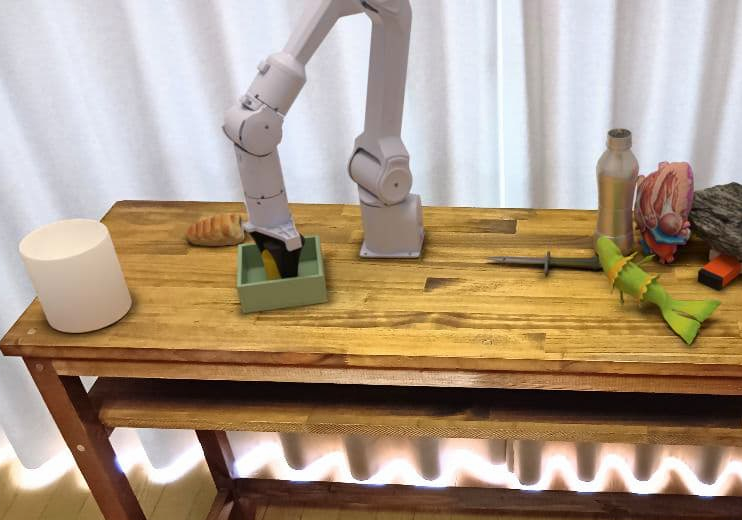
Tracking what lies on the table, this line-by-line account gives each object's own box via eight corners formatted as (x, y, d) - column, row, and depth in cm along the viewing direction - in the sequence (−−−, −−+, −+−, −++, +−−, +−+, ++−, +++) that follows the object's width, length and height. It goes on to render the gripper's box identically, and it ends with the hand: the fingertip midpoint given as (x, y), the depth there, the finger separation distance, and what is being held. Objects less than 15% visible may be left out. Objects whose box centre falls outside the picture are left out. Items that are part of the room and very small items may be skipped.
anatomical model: (646, 165, 142) (632, 261, 144) (627, 158, 138) (613, 257, 139) (708, 167, 135) (692, 267, 137) (690, 160, 131) (674, 263, 133)
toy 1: (582, 244, 128) (574, 290, 133) (700, 305, 119) (687, 351, 124) (615, 226, 133) (606, 270, 138) (730, 283, 124) (717, 328, 129)
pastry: (186, 252, 145) (180, 231, 143) (188, 232, 150) (182, 211, 148) (246, 244, 147) (241, 223, 144) (246, 224, 152) (241, 204, 150)
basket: (323, 260, 143) (318, 234, 140) (327, 302, 133) (323, 275, 130) (244, 270, 141) (238, 244, 138) (243, 313, 131) (236, 286, 129)
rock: (736, 200, 145) (733, 167, 141) (801, 239, 134) (799, 204, 130) (674, 231, 143) (669, 198, 139) (735, 274, 131) (731, 239, 127)
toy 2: (728, 300, 133) (784, 254, 140) (730, 279, 130) (787, 233, 138) (686, 281, 137) (743, 237, 144) (688, 261, 135) (745, 217, 142)
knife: (485, 257, 143) (480, 274, 139) (484, 245, 141) (479, 262, 137) (604, 262, 140) (602, 279, 136) (604, 250, 139) (602, 268, 135)
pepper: (303, 274, 138) (296, 235, 134) (296, 291, 135) (288, 251, 130) (272, 273, 139) (264, 234, 134) (264, 291, 135) (255, 251, 131)
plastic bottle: (639, 247, 143) (648, 127, 131) (625, 268, 139) (633, 146, 126) (600, 240, 145) (606, 120, 133) (585, 260, 141) (590, 139, 128)
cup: (36, 309, 133) (6, 237, 126) (112, 280, 139) (88, 210, 132) (65, 343, 126) (35, 269, 119) (145, 311, 132) (121, 239, 125)
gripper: (217, 179, 130) (237, 261, 138) (260, 218, 121) (279, 302, 129) (262, 165, 133) (279, 246, 141) (308, 202, 124) (323, 285, 132)
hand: (282, 272), depth 135 cm, fingers closed on pepper, 5 cm apart
